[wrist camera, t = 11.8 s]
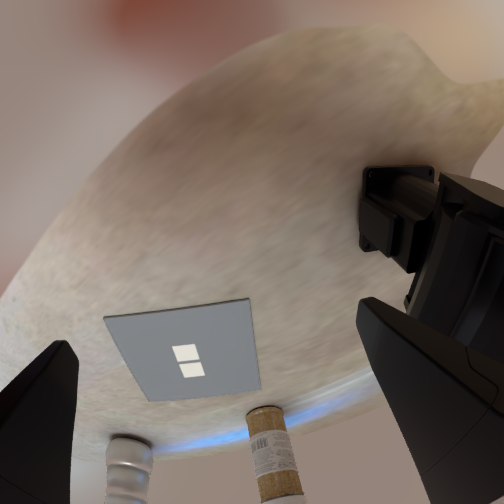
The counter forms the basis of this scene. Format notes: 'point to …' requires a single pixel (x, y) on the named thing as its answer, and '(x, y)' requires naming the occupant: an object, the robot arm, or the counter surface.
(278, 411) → the sprinkles bottle
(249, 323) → the mat
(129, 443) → the plastic bottle
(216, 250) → the counter surface
